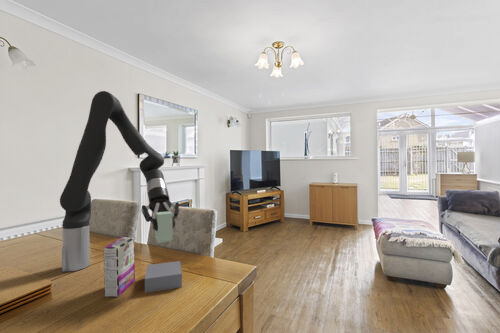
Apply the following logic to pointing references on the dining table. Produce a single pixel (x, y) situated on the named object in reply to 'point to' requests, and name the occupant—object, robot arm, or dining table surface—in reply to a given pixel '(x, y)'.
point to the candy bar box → (119, 266)
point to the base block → (163, 276)
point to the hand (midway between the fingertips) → (165, 228)
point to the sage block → (164, 227)
